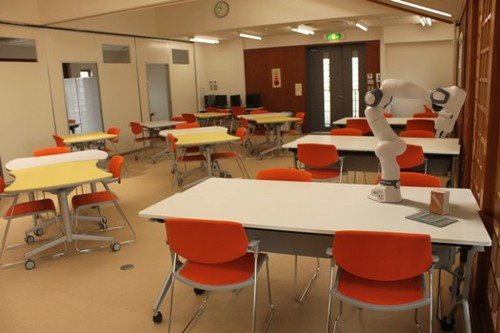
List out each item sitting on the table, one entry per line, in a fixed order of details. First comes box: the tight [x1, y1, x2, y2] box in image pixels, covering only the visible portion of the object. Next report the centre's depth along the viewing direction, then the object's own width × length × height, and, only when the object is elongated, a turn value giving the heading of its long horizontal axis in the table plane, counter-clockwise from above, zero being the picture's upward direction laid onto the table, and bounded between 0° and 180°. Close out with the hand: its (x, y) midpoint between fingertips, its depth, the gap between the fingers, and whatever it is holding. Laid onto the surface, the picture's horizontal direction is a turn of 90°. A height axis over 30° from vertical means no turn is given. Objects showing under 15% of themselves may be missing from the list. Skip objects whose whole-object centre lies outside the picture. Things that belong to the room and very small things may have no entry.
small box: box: [429, 188, 450, 216], centre depth 255 cm, size 8×6×13 cm
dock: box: [404, 210, 459, 228], centre depth 245 cm, size 22×16×1 cm
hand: (439, 138), depth 253 cm, fingers open, 8 cm apart
